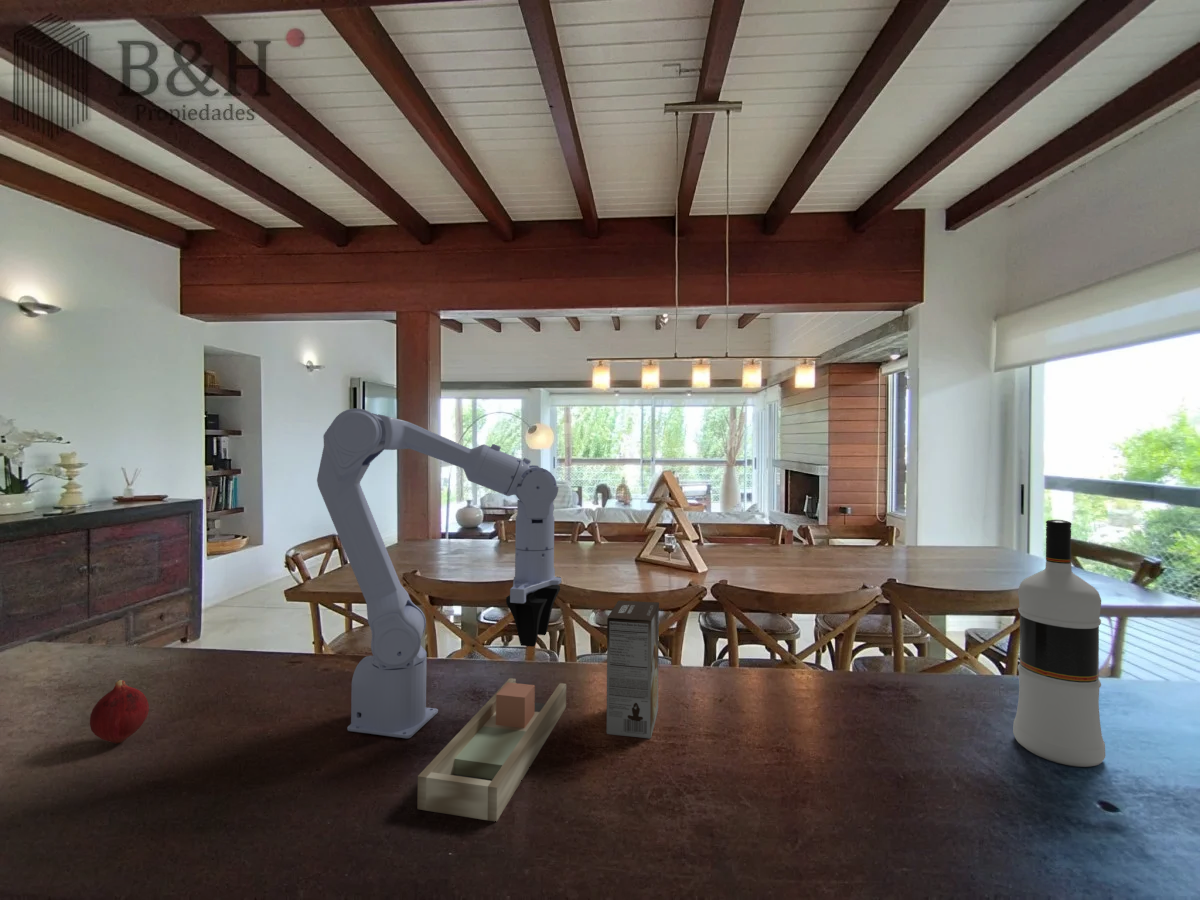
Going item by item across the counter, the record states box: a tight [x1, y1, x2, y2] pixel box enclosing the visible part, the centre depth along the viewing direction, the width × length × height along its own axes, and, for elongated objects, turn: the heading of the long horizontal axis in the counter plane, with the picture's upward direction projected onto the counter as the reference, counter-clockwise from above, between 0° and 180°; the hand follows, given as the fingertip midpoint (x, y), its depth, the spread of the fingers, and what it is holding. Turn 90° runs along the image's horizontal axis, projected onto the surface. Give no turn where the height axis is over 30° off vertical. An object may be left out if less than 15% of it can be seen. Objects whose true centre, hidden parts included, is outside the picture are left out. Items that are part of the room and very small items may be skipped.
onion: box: [89, 679, 150, 745], centre depth 72 cm, size 6×6×8 cm
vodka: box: [1012, 519, 1106, 768], centre depth 72 cm, size 9×9×30 cm
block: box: [496, 682, 536, 728], centre depth 75 cm, size 4×4×4 cm
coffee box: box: [606, 600, 660, 740], centre depth 79 cm, size 9×6×16 cm
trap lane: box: [416, 677, 567, 823], centre depth 71 cm, size 9×26×4 cm, turn 168°
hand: (533, 639), depth 82 cm, fingers open, 4 cm apart
